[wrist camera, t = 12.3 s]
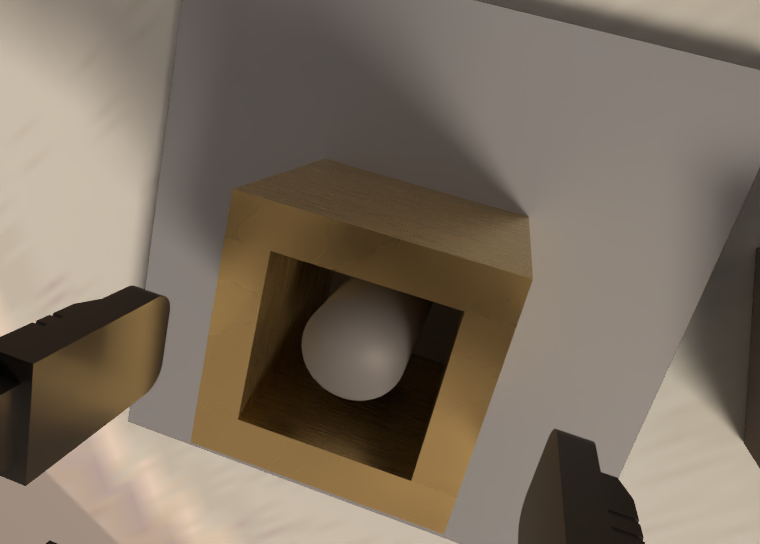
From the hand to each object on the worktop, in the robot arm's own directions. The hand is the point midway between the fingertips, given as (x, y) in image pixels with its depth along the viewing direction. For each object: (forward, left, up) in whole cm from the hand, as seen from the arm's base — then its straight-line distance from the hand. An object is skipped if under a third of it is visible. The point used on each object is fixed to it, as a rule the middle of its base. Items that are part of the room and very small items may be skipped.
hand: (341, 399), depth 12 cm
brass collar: (0, 0, -7) cm, 7 cm away
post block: (0, 0, -8) cm, 8 cm away
